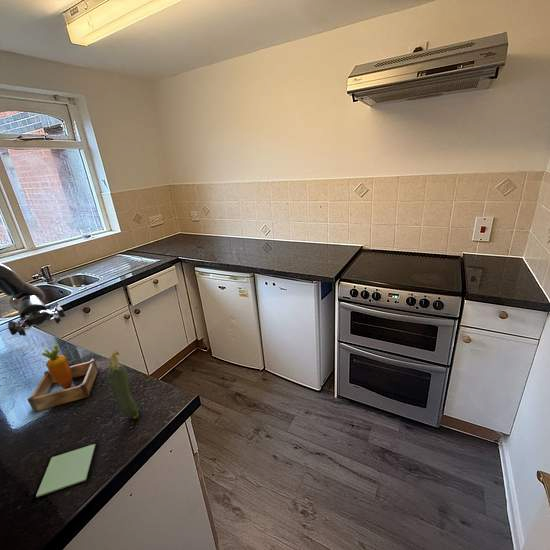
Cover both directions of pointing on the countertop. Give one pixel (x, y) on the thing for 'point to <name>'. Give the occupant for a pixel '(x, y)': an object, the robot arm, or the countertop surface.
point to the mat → (66, 470)
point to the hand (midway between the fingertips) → (40, 326)
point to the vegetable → (121, 387)
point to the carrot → (59, 368)
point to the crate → (45, 400)
